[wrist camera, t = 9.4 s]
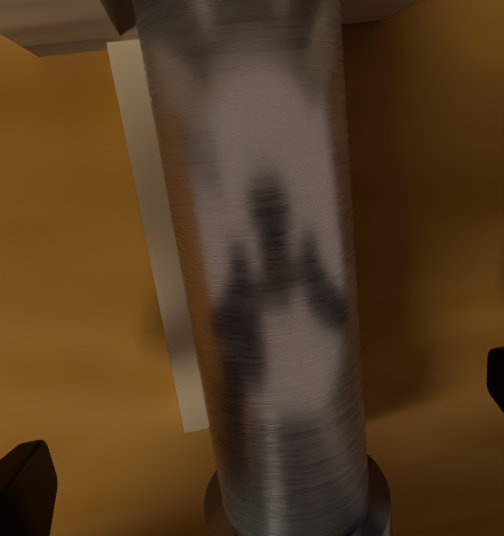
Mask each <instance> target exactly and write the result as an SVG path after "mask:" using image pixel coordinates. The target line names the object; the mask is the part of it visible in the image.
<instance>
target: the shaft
mask: <svg viewBox="0 0 504 536" xmlns="http://www.w3.org/2000/svg"><path fill="white" fill-rule="evenodd" d="M132 3H133V9H134V14H135V20H136V25H137V31H138V36H139V42H140V47H141V53H142V58H143V64H144V69H145V75H146V80H147V86H148V91H149V97H150V102H151V108H152V114H153V119H154V125H155V130H156V136H157V141H158V147H159V152H160V158H161V163H162V169H163V174H164V180H165V185H166V191H167V196H168V202H169V207H170V213H171V219H172V224H173V230H174V235H175V241H176V246H177V252H178V257H179V263H180V268H181V274H182V279H183V285H184V290H185V296H186V301H187V307H188V312H189V318H190V324H191V329H192V335H193V340H194V346H195V351H196V357H197V362H198V368H199V373H200V379H201V384H202V390H203V395H204V401H205V406H206V412H207V417H208V423H209V429H210V434H211V440H212V445H213V451H214V456H215V462H216V467H217V470H216V472H215V473H214V475H213V477H212V478H211V480H210V482H209V485H208V488H207V491H206V495H205V501H204V513H205V520H206V525H207V530H208V535H209V536H392V520H391V498H390V491H389V487H388V484H387V481H386V478H385V477H384V475H383V473H382V471H381V469H380V468H379V467H378V465H377V464H376V462H375V461H374V460H373V459H372V458H371V457H370V456H369V455H368V454H367V445H366V428H365V411H364V395H363V378H362V361H361V344H360V328H359V311H358V294H357V277H356V260H355V244H354V227H353V210H352V193H351V177H350V160H349V143H348V126H347V110H346V93H345V76H344V59H343V42H342V26H341V9H340V0H132Z"/></svg>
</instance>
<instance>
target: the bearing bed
mask: <svg viewBox="0 0 504 536" xmlns="http://www.w3.org/2000/svg"><path fill="white" fill-rule="evenodd" d="M417 1H418V0H340V9H341V24H351V23H360V22H370V21H379V20H386V19H388V18H389V17H391V16H393V15H394V14H396V13H398V12H400V11H401V10H403V9H405V8H406V7H408V6H410V5H412V4H413V3H415V2H417ZM0 34H2V35H3V36H5V37H7V38H8V39H10V40H12V41H13V42H15V43H17V44H18V45H20V46H22V47H23V48H25V49H27V50H28V51H30V52H32V53H33V54H35V55H37V56H38V57H40V56H49V55H59V54H68V53H77V52H87V51H96V50H106V49H108V54H109V58H110V63H111V68H112V73H113V78H114V83H115V88H116V93H117V98H118V103H119V108H120V113H121V118H122V123H123V128H124V133H125V138H126V143H127V148H128V153H129V158H130V163H131V168H132V173H133V178H134V183H135V188H136V193H137V198H138V203H139V208H140V213H141V218H142V223H143V228H144V233H145V238H146V243H147V248H148V253H149V258H150V263H151V268H152V273H153V278H154V282H155V287H156V292H157V297H158V302H159V307H160V312H161V317H162V322H163V327H164V332H165V337H166V342H167V347H168V352H169V357H170V362H171V367H172V372H173V377H174V382H175V387H176V392H177V397H178V402H179V407H180V412H181V417H182V422H183V427H184V432H185V433H188V432H193V431H198V430H203V429H207V428H209V423H208V417H207V412H206V406H205V401H204V395H203V390H202V384H201V379H200V373H199V368H198V362H197V357H196V351H195V346H194V340H193V335H192V329H191V324H190V318H189V312H188V307H187V301H186V296H185V290H184V285H183V279H182V274H181V268H180V263H179V257H178V252H177V246H176V241H175V235H174V230H173V224H172V219H171V213H170V207H169V202H168V196H167V191H166V185H165V180H164V174H163V169H162V163H161V158H160V152H159V147H158V141H157V136H156V130H155V125H154V119H153V114H152V108H151V102H150V97H149V91H148V86H147V80H146V75H145V69H144V64H143V58H142V53H141V47H140V42H139V36H138V31H137V25H136V20H135V14H134V9H133V3H132V0H0Z"/></svg>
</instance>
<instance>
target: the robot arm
mask: <svg viewBox="0 0 504 536" xmlns="http://www.w3.org/2000/svg"><path fill="white" fill-rule="evenodd" d="M487 389H488V391H489V393H490V395H491V397H492V398H493V399H494V401H495V402H496V403H497V405H498V406H499V407H500V409H501V410H502V411H503V413H504V346H503V347H498V348H494V349H491V350H490V351H489V353H488V357H487ZM56 493H57V475H56V471H55V468H54V465H53V462H52V458H51V455H50V452H49V449H48V446H47V444H46V442H45V441H43V440H35V441H30V442H25V443H22V444H19V445H18V446H17V447H15V448H14V449H13V450H12V451H10V452H9V453H8V454H7V455H5V456H4V457H3V458H1V459H0V536H50V530H51V524H52V518H53V512H54V505H55V499H56Z"/></svg>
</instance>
